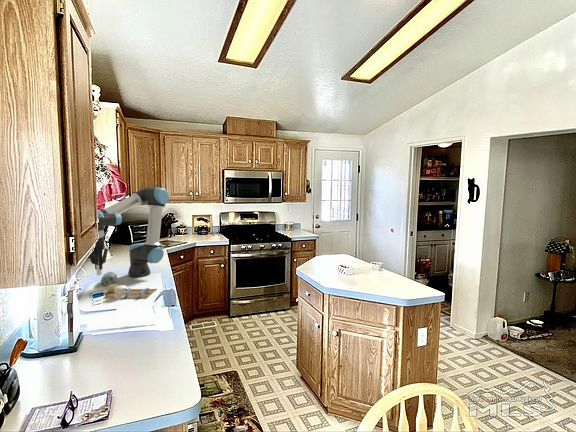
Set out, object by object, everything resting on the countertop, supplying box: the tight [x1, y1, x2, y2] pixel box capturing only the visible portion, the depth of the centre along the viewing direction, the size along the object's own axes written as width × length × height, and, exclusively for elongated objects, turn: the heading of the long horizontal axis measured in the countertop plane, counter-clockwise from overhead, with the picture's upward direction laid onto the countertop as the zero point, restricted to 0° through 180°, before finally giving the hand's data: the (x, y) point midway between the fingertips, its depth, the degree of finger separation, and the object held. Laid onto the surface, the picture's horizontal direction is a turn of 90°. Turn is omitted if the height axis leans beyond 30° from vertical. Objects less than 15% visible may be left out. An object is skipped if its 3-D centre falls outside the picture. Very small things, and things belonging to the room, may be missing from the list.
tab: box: [106, 283, 119, 293], centre depth 218 cm, size 5×4×4 cm
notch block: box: [125, 287, 150, 298], centre depth 210 cm, size 8×12×4 cm, turn 90°
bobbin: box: [114, 284, 128, 300], centre depth 208 cm, size 7×7×6 cm
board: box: [102, 288, 158, 300], centre depth 214 cm, size 18×29×1 cm, turn 90°
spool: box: [100, 271, 118, 287], centre depth 235 cm, size 14×10×10 cm
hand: (99, 274), depth 216 cm, fingers closed
